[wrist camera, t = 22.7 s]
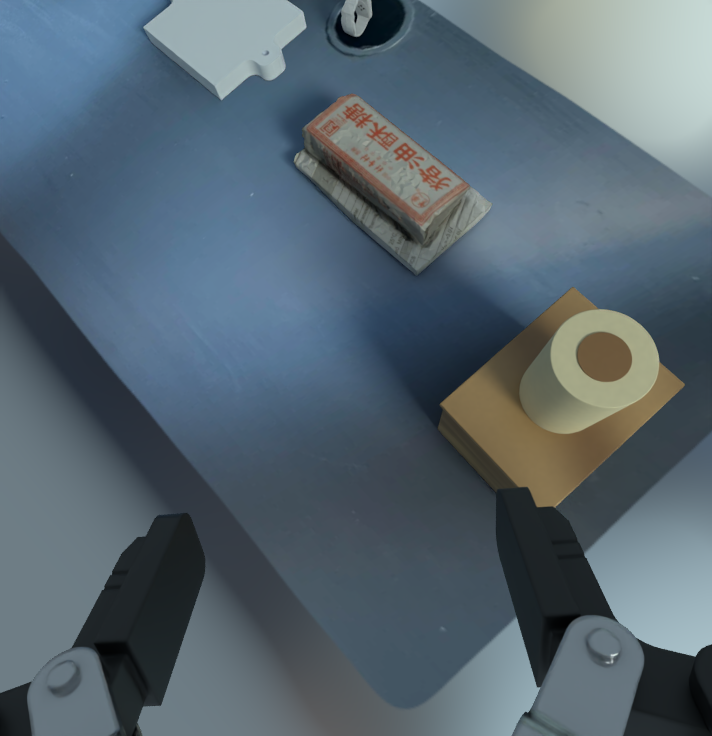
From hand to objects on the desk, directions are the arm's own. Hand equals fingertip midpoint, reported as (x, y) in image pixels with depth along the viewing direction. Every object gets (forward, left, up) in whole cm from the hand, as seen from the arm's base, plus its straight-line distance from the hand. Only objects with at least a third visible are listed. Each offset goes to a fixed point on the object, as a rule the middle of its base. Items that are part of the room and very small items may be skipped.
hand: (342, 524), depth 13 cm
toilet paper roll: (+9, -10, -20) cm, 24 cm away
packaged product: (+31, +4, -30) cm, 43 cm away
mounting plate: (+50, +25, -30) cm, 63 cm away
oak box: (+9, -10, -30) cm, 33 cm away
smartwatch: (+51, +10, -30) cm, 60 cm away
